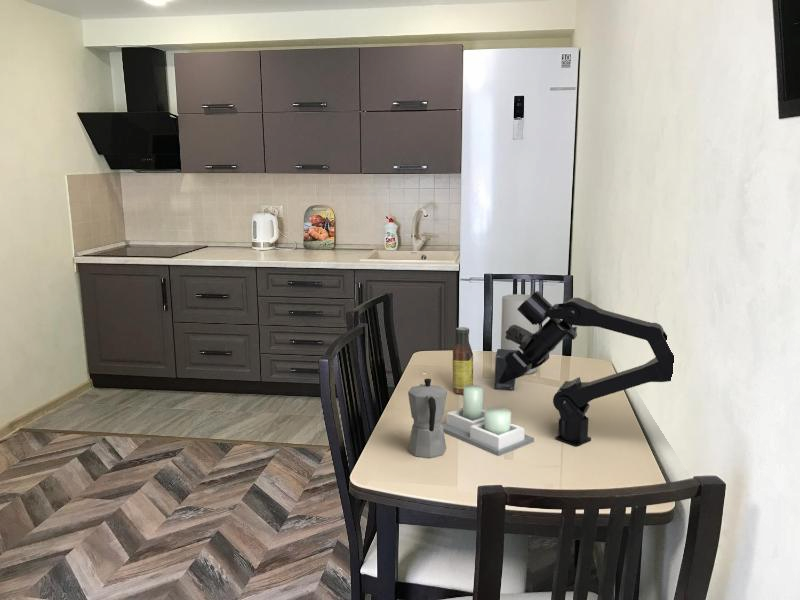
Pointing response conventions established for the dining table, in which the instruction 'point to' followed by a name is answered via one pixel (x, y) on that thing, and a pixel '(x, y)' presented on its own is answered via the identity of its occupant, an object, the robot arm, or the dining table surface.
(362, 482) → the dining table surface
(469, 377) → the sauce bottle
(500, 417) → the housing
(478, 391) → the pale green rounded block
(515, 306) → the cylinder vase
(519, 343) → the robot arm
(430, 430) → the coffeepot
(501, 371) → the small box
